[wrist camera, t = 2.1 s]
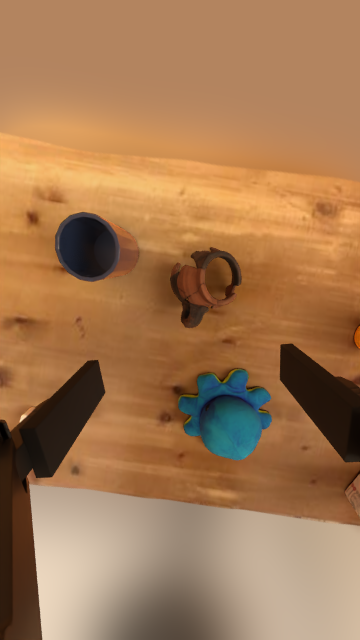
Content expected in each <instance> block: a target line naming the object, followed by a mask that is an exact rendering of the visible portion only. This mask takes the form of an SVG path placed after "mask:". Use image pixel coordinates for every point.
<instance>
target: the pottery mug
mask: <svg viewBox="0 0 360 640" xmlns="http://www.w3.org/2000/svg"><path fill="white" fill-rule="evenodd" d="M210 250H211V252H209V251H196V252H194V253H193V254H192V255H191V257H192V258H193V259H194V260H195V262H196V265H197V268H194V267H191V266H188V265H185V266H183V267H182V268H181V270H180V272H177V271H178V269H179V267H180V265H181V264H180V263H177V264H176V265H175V266H174V267H173V269H172V272H171V278H170V283H171V288H172V290H173V292H174V294H175V295H176V296H177V297H178V299H179V300H180V301H181V302H182V306H183V311H182V315H181V322H182V323H183V324H184V326H185V327H186V328H193V327H196V326H198V325H199V323H200V322H201V320H202V318H203V315H204V314H205V313H206V312H208V311H209V308H208V307H206V306H211V308H217V307H220V306H223V305H227V304H229V303H230V302H232V301H233V300H234V299H235V297H236V296H237V294H236V293H234V290H235V287H236V286H239V285H240V284H241V271H240V267H239V265H238V263H237V262H236V260H235V258H234V257H233V256H232V255H231V254H229V253H227V252H225V251H220V250H218V249H216V248H213V247H210ZM217 257H220V258H223V259H225V260H226V261H227V262H228V264H229V265H230V268H231V271H232V283H231V285H229V286H228V287H227V288H226V291H225V296H226V298H225V299H222V300H216V299H214V298H213V297H212V296H211V295H210V294H209V292H208V290H207V288H206V285H205V271H206V268H207V266H208V264H209V263H210V261H212V260H213V259H214V258H217ZM186 298H188V300H186Z"/></svg>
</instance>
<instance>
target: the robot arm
mask: <svg viewBox="0 0 360 640" xmlns="http://www.w3.org/2000/svg"><path fill="white" fill-rule="evenodd" d="M280 380H281V382H282V383H283V384H284V385H285V387H286V388H287V389H288V390H289V392H290V393H291V394H292V395H293V397H294V398H295V399H296V401H297V402H298V403H299V404H300V406H301V407H302V408H303V409H304V411H305V412H306V413H307V414H308V416H309V417H310V418H311V420H312V421H313V422H314V423H315V425H316V426H317V427H318V428H319V430H320V431H321V432H322V433H323V435H324V436H325V437H326V438H327V440H328V441H329V442H330V444H331V445H332V446H333V447H334V449H335V450H336V451H337V452H338V454H339V455H340V456H341V457H342V459H343V460H344V461H345V462H360V388H359V387H358V386H357V385H355V384H354V383H353V382H351V381H349V380H347V379H345V378H342V377H334V376H333V375H332V374H330V373H329V372H328V371H327V370H325V369H324V368H323V367H321V366H320V365H319V364H318V363H316V362H315V361H314V360H312V359H311V358H310V357H309V356H307V355H306V354H305V353H303V352H302V351H301V350H299V349H298V348H297V347H296V346H294V345H293V344H281V350H280ZM104 394H105V389H104V384H103V380H102V375H101V371H100V366H99V362H98V360H91V361H87V362H86V363H85V364H84V365H83V366H82V367H81V368H80V369H79V370H78V371H77V372H76V373H75V374H74V375H73V376H72V377H71V378H70V379H69V380H68V381H67V382H66V383H65V384H64V385H63V386H62V387H61V388H60V389H59V390H58V391H57V392H56V393H55V394H54V395H53V396H52V397H51V398H50V399H47V400H45V401H44V402H42V403H41V404H39V405H38V406H37V407H36V408H35V409H34V410H33V411H32V412H31V413H30V414H29V415H27V416H26V418H24V419H23V420H22V421H21V422H20V423H19V424H18V425H17V426H16V427H15V428H14V429H13V430H12V431H11V432H10V431H9V428H8V426H7V423H6V421H5V420H0V640H42V631H41V619H40V607H39V595H38V584H37V572H36V560H35V548H34V536H33V525H32V513H31V501H30V489H29V481H28V478H27V475H28V474H29V472H30V471H31V470H32V468H33V470H34V473H35V476H36V478H46V477H52V476H53V475H54V473H55V472H56V470H57V469H58V467H59V465H60V464H61V462H62V461H63V459H64V457H65V456H66V454H67V453H68V451H69V450H70V448H71V446H72V445H73V443H74V442H75V440H76V438H77V437H78V435H79V434H80V432H81V431H82V429H83V427H84V426H85V424H86V423H87V421H88V419H89V418H90V416H91V415H92V413H93V411H94V410H95V408H96V407H97V405H98V404H99V402H100V400H101V399H102V397H103V396H104Z"/></svg>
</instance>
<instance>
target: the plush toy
mask: <svg viewBox="0 0 360 640" xmlns="http://www.w3.org/2000/svg"><path fill="white" fill-rule="evenodd" d="M248 378H249V375H248V373H247V371H245V370H242V369H235V370H232V371H230V373H229V374H228V376H227V377H226V379H225V380H224V381H223V382H221V381H220V380H218V377H217V376H216V375H215V374H214V373H206V374H202V375H200V376H199V377H198V380H197V385H198V390H199V393H198V395H197V396H193V395H190V394H189V395H188V394H187V395H181V396H180V398H179V399H178V407H179V410H181V411H182V412H184V413H185V414H188V415H191V417H190V418H189V419H188V420H187V421H186V422H185V423H184V430H185V433H186V434H188V435H190V436H200V435H201V438H202V441H203V443H204V446H205V447H206V448H207V449H208V450H209V451H211V452H212V453H214V454H216V455H218V456H222V457H225V458H230V459H233V460H242V459H244V458H246V457H247V456H248V455H249V454H251V453H252V452H253V450H254V449H255V447H256V445H257V443H258V441H259V439H260V437H261V432H262V429H266V428H268V427H269V425H270V423H271V422H272V418H271V415H270V414H269V412H266V411H261V410H258V409H259V408H260V407H261V406H262V405H263V404H265V403H266V402H268V401H270V399H271V396H270V394H269V393H268V392H267V391H266V390H265V389H264V388H261V387H255V388H253V389H250V390H247V388H246V384H247V381H248Z"/></svg>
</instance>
